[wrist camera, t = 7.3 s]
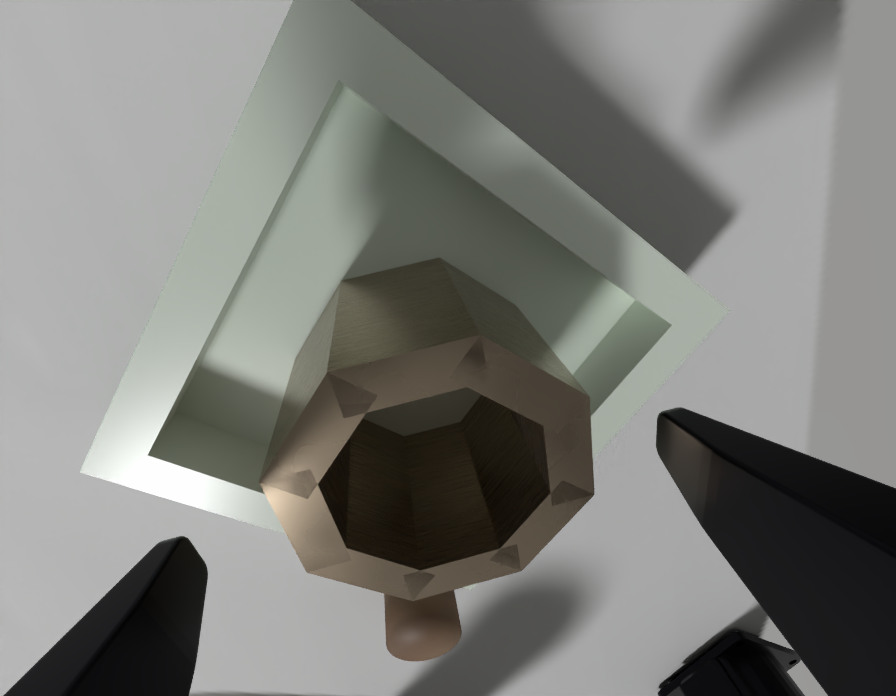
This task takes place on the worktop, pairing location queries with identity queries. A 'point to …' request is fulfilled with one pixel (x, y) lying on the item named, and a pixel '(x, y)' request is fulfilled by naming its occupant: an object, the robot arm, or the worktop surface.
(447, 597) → the brown rounded nub
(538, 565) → the worktop surface
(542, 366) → the ring
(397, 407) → the tray
